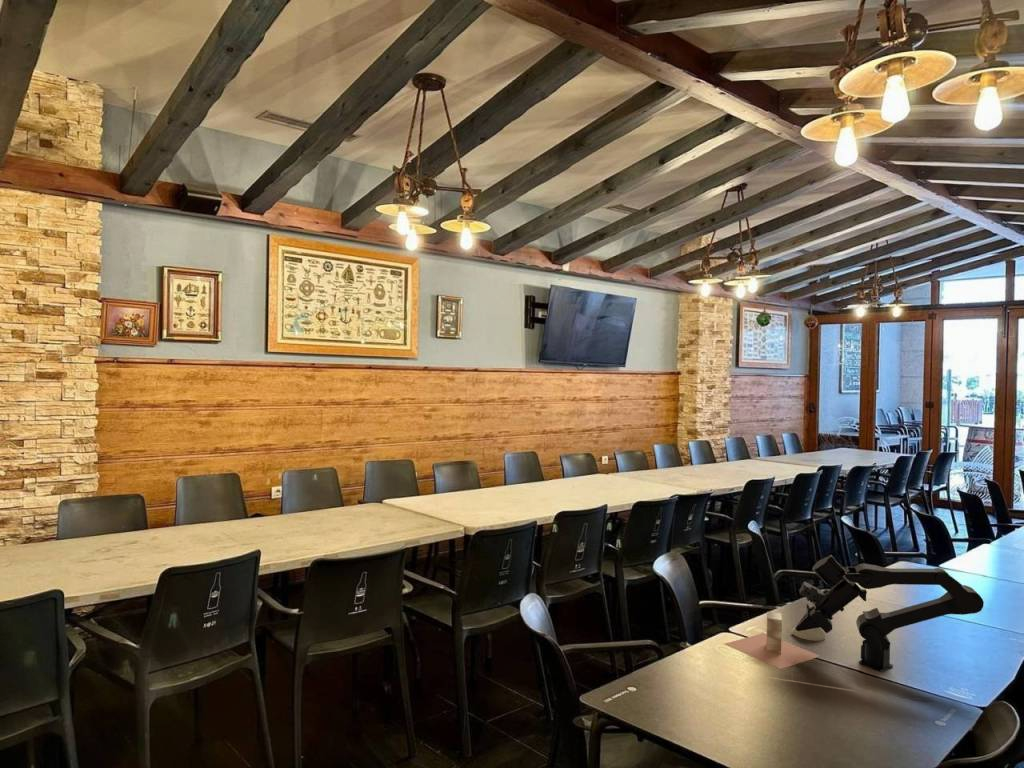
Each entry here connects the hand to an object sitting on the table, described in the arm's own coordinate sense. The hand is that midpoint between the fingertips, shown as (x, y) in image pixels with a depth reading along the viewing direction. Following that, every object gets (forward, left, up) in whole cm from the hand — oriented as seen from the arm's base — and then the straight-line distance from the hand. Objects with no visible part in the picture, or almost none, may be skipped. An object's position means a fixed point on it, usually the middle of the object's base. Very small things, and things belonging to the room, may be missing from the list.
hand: (796, 629), depth 200 cm
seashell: (+6, -15, -7) cm, 18 cm away
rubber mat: (+5, +5, -7) cm, 10 cm away
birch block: (+5, +4, -7) cm, 9 cm away
